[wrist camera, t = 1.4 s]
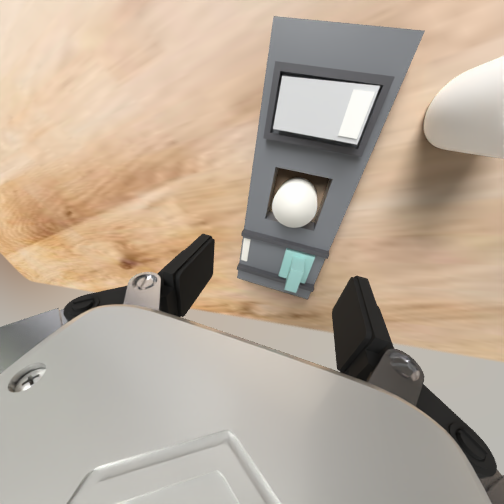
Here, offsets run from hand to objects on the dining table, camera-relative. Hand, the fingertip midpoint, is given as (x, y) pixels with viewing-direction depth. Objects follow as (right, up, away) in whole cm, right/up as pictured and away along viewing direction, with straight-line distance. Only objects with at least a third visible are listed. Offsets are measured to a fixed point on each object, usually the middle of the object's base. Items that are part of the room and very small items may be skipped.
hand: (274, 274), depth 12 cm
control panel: (+5, +9, +15) cm, 18 cm away
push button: (+4, +8, +14) cm, 17 cm away
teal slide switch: (+5, 0, +17) cm, 18 cm away
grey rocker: (+5, +14, +6) cm, 16 cm away
